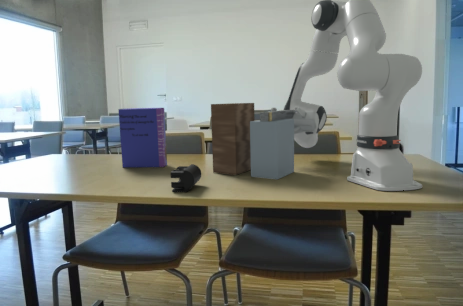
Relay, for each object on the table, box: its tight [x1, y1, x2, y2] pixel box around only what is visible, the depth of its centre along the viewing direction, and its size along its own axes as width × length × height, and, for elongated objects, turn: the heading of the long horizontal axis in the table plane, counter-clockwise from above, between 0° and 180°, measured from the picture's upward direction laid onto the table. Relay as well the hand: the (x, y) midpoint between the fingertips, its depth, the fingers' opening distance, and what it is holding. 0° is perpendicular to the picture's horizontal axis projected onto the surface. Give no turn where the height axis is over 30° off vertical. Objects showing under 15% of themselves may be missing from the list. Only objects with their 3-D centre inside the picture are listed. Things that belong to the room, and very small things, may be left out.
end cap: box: [170, 164, 202, 193], centre depth 109 cm, size 10×7×7 cm
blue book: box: [118, 107, 168, 169], centre depth 147 cm, size 17×5×24 cm, turn 84°
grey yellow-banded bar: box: [259, 109, 294, 122], centre depth 128 cm, size 22×4×3 cm, turn 147°
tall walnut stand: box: [210, 102, 256, 176], centre depth 134 cm, size 14×10×25 cm
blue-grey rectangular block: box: [250, 119, 295, 180], centre depth 125 cm, size 14×10×19 cm
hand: (284, 109), depth 132 cm, fingers open, 8 cm apart
